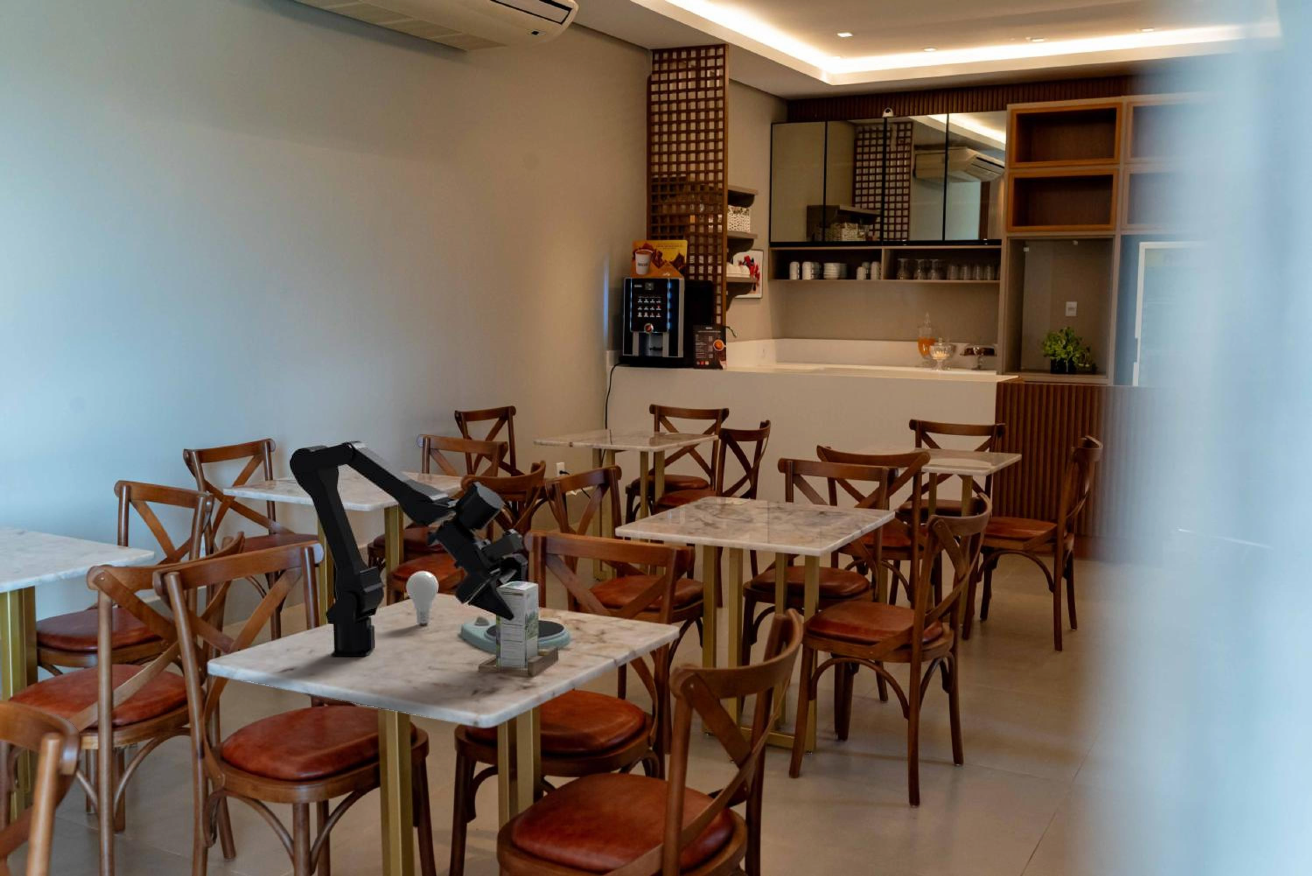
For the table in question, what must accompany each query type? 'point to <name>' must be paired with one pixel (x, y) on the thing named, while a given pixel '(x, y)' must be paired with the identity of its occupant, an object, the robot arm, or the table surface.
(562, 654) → the table surface
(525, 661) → the syrup box
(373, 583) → the robot arm
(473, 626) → the scale
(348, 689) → the table surface
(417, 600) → the lightbulb
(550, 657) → the square wooden frame
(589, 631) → the table surface
